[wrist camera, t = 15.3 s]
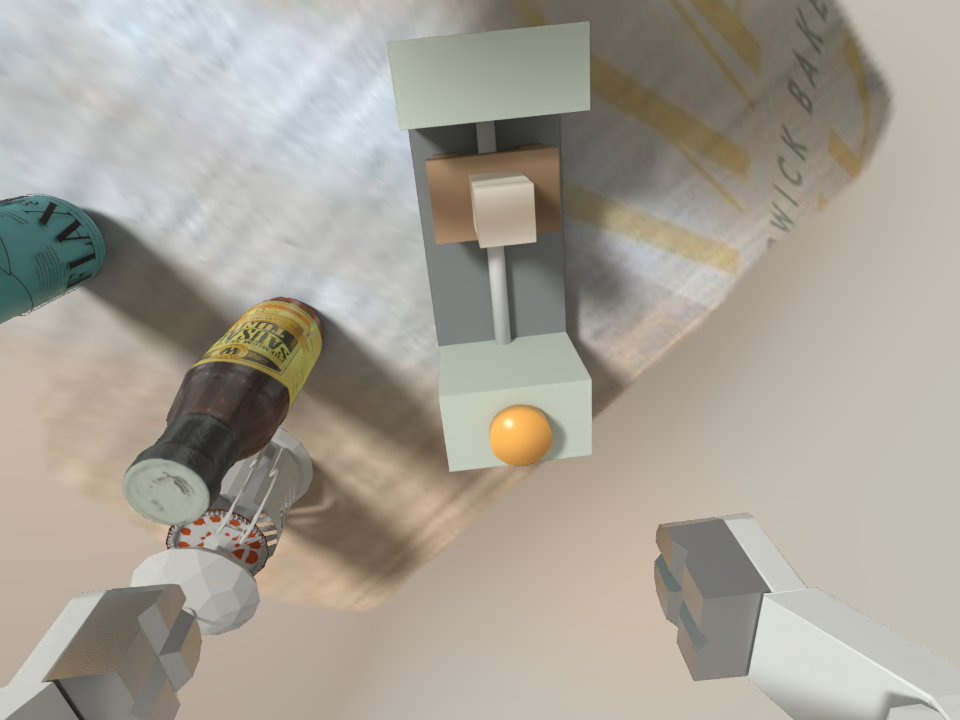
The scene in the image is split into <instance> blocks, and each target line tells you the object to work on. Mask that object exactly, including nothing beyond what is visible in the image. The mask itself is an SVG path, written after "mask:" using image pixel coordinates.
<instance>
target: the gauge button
mask: <svg viewBox="0 0 960 720" xmlns="http://www.w3.org/2000/svg"><path fill="white" fill-rule="evenodd" d="M489 436H490V442H491V448H492V451H493V453H494V454H495V456H496V457H497V458H498V459H499V460H501V461H502V462H504V463H506V464H509V465H513V466H525V465H529V464H532V463H535V462H537V461H538V460H540V459H541V458H542V457H544V456H545V455H546V453H547V452H548V451H549V449H550V447H551V444H552V433H551V429H550V426H549V423H548V420H547V418H546V417H545V415H544V414H543V413H542V412H541V411H540V410H539V409H537V408H535V407H533V406H530V405H523V404H520V405H513V406H509V407H507V408H505V409H503V410H501V411H500V412H499V413H498V414H497V415H496V416H495V417H494V418H493V420H492V422H491V424H490V428H489Z"/></svg>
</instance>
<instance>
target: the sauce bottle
mask: <svg viewBox="0 0 960 720" xmlns="http://www.w3.org/2000/svg"><path fill="white" fill-rule="evenodd" d="M323 339H324V330H323V326H322V323H321V321H320V319H319V317H318V316H317V315H316V313H315V312H314V311H313V310H312V309H311V308H310V307H308V306H306V305H305V304H303V303H301V302H299V301H297V300H293V299H291V298H284V297H278V298H272V299H270V300H265V301H264V302H262V303H259V304H257V305H255V306H253V307H252V308H250V309H249V310H248V311H247V312H246V313H245V314H244V315H243V316H242V317H241V318H240V319H239V320H238V321H237V322H236V323H235V324H234V325H233V326H232V327H231V328H230V329H229V330H228V331H227V332H226V333H225V334H224V335H223V336H222V337H221V338H220V339H219V340H218V341H217V342H216V343H215V344H214V345H213V346H212V347H211V348H210V349H209V350H208V351H207V352H206V353H205V354H204V356H203V357H202V358H201V359H199V360H198V361H197V362H196V363H195V365H194V366H193V367H192V368H191V369H190V370H189V371H188V372H187V373H186V375H185V377H184V379H183V382H182V384H181V386H180V388H179V391H178V393H177V395H176V397H175V400H174V402H173V404H172V406H171V409H170V411H169V413H168V416H167V419H166V421H167V426H168V427H167V428H166V429H165V431H164V434H163V435H162V436H161V437H160V438H159V439H158V441H157V442H156V443H155V444H154V445H153V446H151V447H149V448H148V449H146V450H144V451H143V452H141V453H140V454H139V455H138V457H137V458H136V460H135V461H134V462H133V463H132V464H131V466H130V467H129V468H128V470H127V471H126V474H125V476H124V479H123V493H124V495H125V498H126V500H127V501H128V503H129V504H130V505H131V506H132V507H133V508H134V510H135V511H136V512H138V513H140V514H141V515H142V516H143V517H145V518H147V519H149V520H151V521H153V522H157V523H160V524H164V525H186V524H190V523H193V522H195V521H197V520H199V519H200V518H201V517H203V516H204V515H205V514H206V513H207V511H208V510H209V509H210V507H211V506H212V504H213V503H214V502H215V501H216V499H217V498H218V496H219V494H220V491H221V486H222V484H221V482H222V480H223V478H224V476H225V475H226V473H227V472H228V470H229V469H230V468H231V467H232V466H234V464H235V462H238V461H241V460H244V459H247V458H249V457H251V456H253V455H255V454H257V453H258V452H259V451H260V450H261V449H263V448H264V447H265V446H266V445H267V444H268V443H269V442H270V441H271V439H272V437H273V436H274V434H275V433H276V431H277V429H278V426H280V425H281V423H282V422H283V421H284V419H285V418H286V416H287V414H288V412H289V411H290V409H291V407H292V405H293V403H294V401H295V400H296V398H297V396H298V394H299V392H300V390H301V389H302V387H303V385H304V383H305V381H306V380H307V378H308V376H309V374H310V372H311V371H312V369H313V367H314V365H315V363H316V361H317V360H318V358H319V355H320V352H321V348H322V344H323Z"/></svg>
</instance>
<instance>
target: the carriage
mask: <svg viewBox="0 0 960 720" xmlns="http://www.w3.org/2000/svg"><path fill="white" fill-rule="evenodd" d="M426 169H427V176H428V184H429V192H430V199H431V207H432V215H433V222H434V230H435V238H436V245H437V244H446V243H455V242H464V241H473V240H478V241H479V245H480V248H487V247H496V246H505V245H514V244H523V243H532V242H536V233H545V232H554V231H561V215H560V181H559V148H558V147H556V146H554V145H552V146H546V145H544V144H541V143H537V144H528V145H519V146H517V149H515V150H506V151H496V152H487V153H478V154H468V155H459V156H458V154H457V152H453V153H444V154H435V155H433V158H431V159H426Z"/></svg>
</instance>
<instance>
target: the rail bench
mask: <svg viewBox="0 0 960 720" xmlns="http://www.w3.org/2000/svg"><path fill="white" fill-rule="evenodd" d="M387 48H388V55H389V62H390V68H391V75H392V82H393V89H394V96H395V103H396V109H397V116H398V123H399V130H407V129H408V131H409V138H410V146H411V153H412V160H413V167H414V174H415V181H416V188H417V196H418V203H419V210H420V217H421V224H422V231H423V239H424V246H425V253H426V260H427V267H428V274H429V281H430V289H431V296H432V303H433V310H434V317H435V324H436V331H437V339H438V346H439V403H440V410H441V417H442V424H443V430H444V437H445V444H446V451H447V458H448V464H449V471H450V472H453V471H461V470H470V469H478V468H487V467H495V466H503V465H509V464H506V463H504V462H502V461H501V460H499V459H498V458H497V457H496V456H495V454H494V453H493V451H492V448H491V442H490V436H489V428H490V424H491V422H492V420H493V418H494V417H495V416H496V415H497V414H498V413H499V412H500V411H501V410H503V409H505V408H507V407H509V406H513V405H520V404H523V405H530V406H533V407H535V408H537V409H539V410H540V411H541V412H542V413H543V414H544V415H545V417H546V418H547V420H548V423H549V426H550V429H551V433H552V444H551V447H550V449H549V451H548V452H547V453H546V455H545V456H544V457H542V458H541V459H540V460H538V461H545V460H554V459H562V458H571V457H579V456H587V455H592V379H591V377H590V375H589V374H588V372H587V370H586V368H585V366H584V364H583V362H582V361H581V359H580V357H579V355H578V353H577V351H576V350H575V348H574V346H573V344H572V342H571V340H570V338H569V337H568V335H567V333H566V316H565V280H564V244H563V208H562V171H561V135H560V113H568V112H577V111H587V110H590V21H585V22H575V23H565V24H555V25H546V26H536V27H526V28H516V29H507V30H497V31H487V32H477V33H468V34H458V35H448V36H438V37H429V38H419V39H409V40H399V41H390V42H387ZM537 143H541V144H544V145H546V146H552V145H554V146H556V147H558V148H559V181H560V215H561V231H554V232H545V233H536V242H532V243H523V244H514V245H505V246H496V247H487V248H480V245H479V241H478V240H473V241H464V242H455V243H446V244H437V245H436V238H435V230H434V222H433V215H432V207H431V199H430V192H429V184H428V176H427V169H426V159H431V158H433V155H435V154H444V153H453V152H457V154H458V156H459V155H468V154H478V153H487V152H496V151H506V150H515V149H517V146H519V145H528V144H537Z"/></svg>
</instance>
